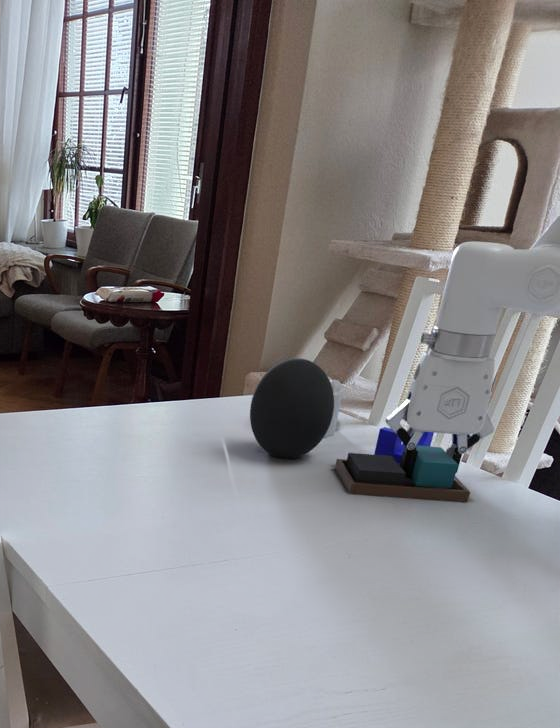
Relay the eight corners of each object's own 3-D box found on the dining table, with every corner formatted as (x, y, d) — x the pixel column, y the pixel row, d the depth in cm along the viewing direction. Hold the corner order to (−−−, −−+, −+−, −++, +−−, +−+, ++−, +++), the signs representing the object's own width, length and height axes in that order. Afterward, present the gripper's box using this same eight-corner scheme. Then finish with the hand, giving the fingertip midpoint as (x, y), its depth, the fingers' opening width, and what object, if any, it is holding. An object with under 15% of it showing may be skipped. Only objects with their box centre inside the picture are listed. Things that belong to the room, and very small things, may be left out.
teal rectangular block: (435, 470, 126) (441, 447, 124) (451, 488, 119) (458, 464, 117) (400, 467, 126) (406, 444, 124) (415, 485, 119) (421, 461, 117)
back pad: (387, 475, 127) (392, 455, 125) (401, 493, 120) (406, 473, 118) (344, 472, 127) (348, 452, 125) (355, 490, 120) (359, 469, 118)
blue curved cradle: (397, 475, 129) (407, 435, 126) (371, 467, 131) (379, 428, 128) (435, 461, 136) (445, 423, 133) (410, 453, 139) (419, 417, 136)
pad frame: (442, 479, 128) (446, 466, 127) (466, 505, 118) (470, 492, 117) (334, 471, 129) (336, 458, 128) (348, 497, 119) (351, 483, 118)
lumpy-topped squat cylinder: (336, 423, 153) (346, 373, 149) (332, 442, 142) (342, 389, 138) (278, 415, 156) (286, 367, 151) (269, 434, 145) (277, 382, 140)
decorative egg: (317, 448, 138) (335, 353, 131) (329, 473, 128) (349, 370, 120) (241, 443, 139) (254, 347, 132) (246, 466, 129) (261, 364, 121)
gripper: (403, 345, 110) (371, 480, 119) (537, 354, 110) (495, 489, 119) (389, 335, 117) (360, 463, 126) (515, 343, 116) (477, 472, 125)
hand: (426, 475), depth 122 cm, fingers closed on teal rectangular block, 5 cm apart
